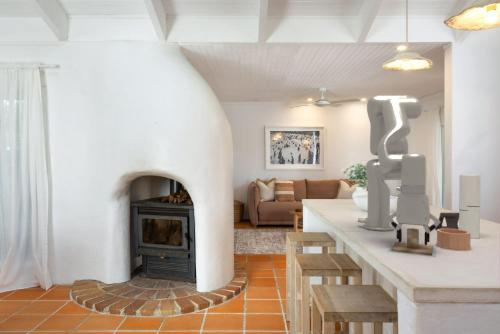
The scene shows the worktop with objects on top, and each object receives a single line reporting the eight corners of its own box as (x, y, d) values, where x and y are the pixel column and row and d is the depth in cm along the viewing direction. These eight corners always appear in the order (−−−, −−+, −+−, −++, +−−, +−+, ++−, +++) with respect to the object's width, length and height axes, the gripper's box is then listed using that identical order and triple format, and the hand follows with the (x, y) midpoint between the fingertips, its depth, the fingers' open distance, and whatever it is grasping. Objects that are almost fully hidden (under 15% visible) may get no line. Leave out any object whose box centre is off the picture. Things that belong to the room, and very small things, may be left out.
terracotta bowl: (436, 249, 121) (436, 232, 121) (437, 243, 129) (437, 227, 129) (470, 253, 116) (471, 235, 116) (469, 247, 124) (469, 230, 124)
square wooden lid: (391, 251, 116) (391, 230, 116) (395, 243, 127) (396, 225, 127) (432, 255, 111) (432, 234, 111) (433, 247, 121) (433, 228, 121)
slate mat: (387, 252, 116) (387, 251, 116) (393, 244, 128) (393, 243, 128) (435, 258, 109) (435, 257, 109) (436, 249, 121) (436, 247, 121)
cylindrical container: (480, 239, 137) (480, 175, 137) (458, 237, 141) (459, 175, 141) (479, 236, 143) (480, 174, 143) (459, 234, 147) (459, 174, 147)
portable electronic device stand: (454, 229, 158) (454, 210, 158) (464, 232, 150) (464, 213, 150) (434, 229, 158) (434, 210, 158) (443, 232, 151) (444, 213, 150)
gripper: (384, 190, 120) (383, 242, 120) (442, 192, 111) (442, 248, 111) (387, 188, 126) (387, 238, 126) (442, 190, 118) (442, 243, 118)
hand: (412, 242), depth 119 cm, fingers open, 7 cm apart
